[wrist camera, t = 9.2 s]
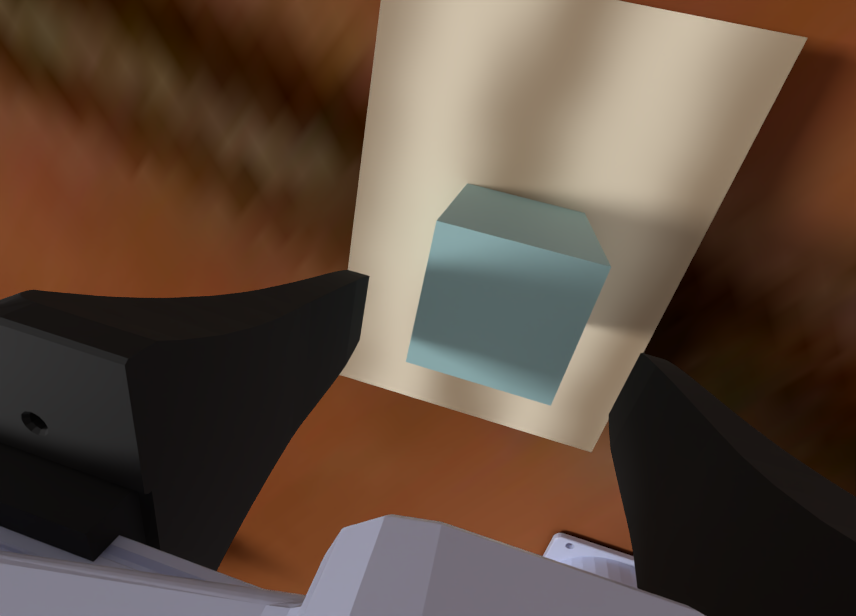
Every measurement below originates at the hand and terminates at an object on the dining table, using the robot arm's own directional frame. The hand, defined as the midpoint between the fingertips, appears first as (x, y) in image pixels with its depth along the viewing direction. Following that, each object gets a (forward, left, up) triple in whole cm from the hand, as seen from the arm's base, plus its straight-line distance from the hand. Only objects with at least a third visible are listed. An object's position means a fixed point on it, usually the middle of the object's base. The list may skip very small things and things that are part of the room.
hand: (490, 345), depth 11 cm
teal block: (0, 0, -7) cm, 7 cm away
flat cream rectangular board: (0, -1, -10) cm, 10 cm away
